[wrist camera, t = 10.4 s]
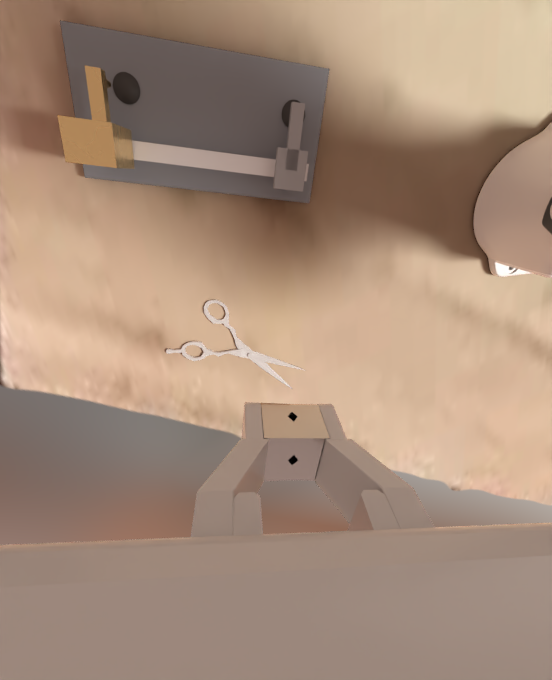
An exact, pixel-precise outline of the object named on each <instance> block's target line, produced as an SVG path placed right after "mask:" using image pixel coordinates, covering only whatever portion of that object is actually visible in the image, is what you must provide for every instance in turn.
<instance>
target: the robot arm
mask: <svg viewBox="0 0 552 680" xmlns="http://www.w3.org/2000/svg"><path fill="white" fill-rule="evenodd" d="M473 223H474V232H475V236H476V239H477V242H478V244H479V245H480V247H481V248H482V249H483V251H484V252H485V253H486V255H487V256H488V260H489V267H490V271H491V273H492V274H493V275H495V276H500V277H504V276H513V275H521V274H530V273H534V274H537V275H541V276H544V277H549V278H552V122H551V123H550V124H549V125H548V126H547V127H546V128H545V129H544V130H543V131H542V132H541V133H539V134H538V135H536V136H534V137H532V138H530V139H529V140H527V141H525V142H523V143H521V144H520V145H518V146H517V147H515V148H514V149H513V150H512V151H510V152H509V153H508V154H507V155H506V156H505V157H504V158H503V159H502V160H501V161H500V162H499V163H498V164H497V165H496V167H495V168H494V169H493V171H492V172H491V173H490V175H489V176H488V178H487V180H486V181H485V183H484V185H483V187H482V189H481V191H480V194H479V196H478V199H477V202H476V206H475V211H474V221H473ZM509 266H510V267H509ZM278 480H315V482H316V483H317V485H318V486H319V487H320V488H321V490H322V491H323V492H324V493H325V495H326V496H327V497H328V498H329V499H330V501H331V502H332V503H333V504H334V505H335V507H336V508H337V509H338V510H339V511H340V513H341V514H342V515H343V516H344V518H345V519H346V520H347V521H348V523H349V524H350V525H349V528H348V530H347V531H336V532H313V533H312V532H310V533H286V534H263V528H262V514H261V500H260V496H259V495H258V494H257V493H258V492H259V490H260V488H261V486H262V484H263V481H278ZM0 680H552V523H532V524H508V525H482V526H457V527H434V525H433V523H432V521H431V520H430V518H429V516H428V514H427V512H426V511H425V509H424V507H423V505H422V503H421V501H420V499H419V498H418V496H417V494H416V492H415V490H414V488H413V487H411V486H410V485H409V484H407V483H406V482H405V481H404V480H402V479H401V478H400V477H399V476H397V475H396V474H395V473H393V472H392V471H391V470H390V469H388V468H387V467H386V466H385V465H383V464H382V463H381V462H380V461H378V460H377V459H376V458H374V457H373V456H372V455H371V454H369V453H368V452H367V451H366V450H364V449H363V448H362V447H360V446H359V445H358V444H357V443H355V442H354V441H353V440H352V439H347V438H346V436H345V433H344V431H343V428H342V426H341V423H340V421H339V418H338V416H337V414H336V411H335V409H334V406H333V405H332V404H317V405H316V404H277V403H247V402H245V405H244V417H243V429H242V439H240V441H239V442H238V443H237V444H236V446H235V447H234V448H233V449H232V450H231V452H230V453H229V454H228V455H227V456H226V458H225V459H224V460H223V461H222V462H221V464H220V465H219V466H218V467H217V468H216V470H215V471H214V472H213V473H212V475H211V476H210V477H209V478H208V480H207V481H206V482H205V483H204V484H203V485H202V487H201V488H200V489H199V490H198V492H197V497H196V504H195V510H194V518H193V525H192V532H191V537H186V538H161V539H136V540H114V541H113V540H112V541H87V542H62V543H39V544H38V543H37V544H13V545H0Z"/></svg>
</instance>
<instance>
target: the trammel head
mask: <svg viewBox="0 0 552 680" xmlns="http://www.w3.org/2000/svg"><path fill="white" fill-rule="evenodd" d="M85 72H86V79H87V86H88V94H89V101H90V108H91V115H92V120H89V119H82V118H75V117H68V116H60V115H57V117H58V122H59V128H60V133H61V139H62V144H63V150H64V155H65V161H66V162H70V163H78V164H87V165H95V166H103V167H111V168H126V169H135V168H134V157H133V146H132V135H131V130H129V129H127V128H124V127H121V126H119V125H116V124H114V123H111V119H110V110H109V102H108V93H107V88H110V87H111V82H110V81H109V80H107V79H106V75H105V71H104V70H102V69H101V68H97V67H91V66H85Z"/></svg>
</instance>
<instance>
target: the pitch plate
mask: <svg viewBox="0 0 552 680" xmlns="http://www.w3.org/2000/svg"><path fill="white" fill-rule="evenodd" d="M60 24H61V30H62V36H63V43H64V49H65V55H66V62H67V68H68V74H69V81H70V87H71V93H72V99H73V106H74V112H75V118H82V119H89V120H92V115H91V108H90V101H89V94H88V86H87V79H86V72H85V66H91V67H97V68H101V69H102V70H104V71H105V75H106V79H107V80H109V81H110V82H111V87H110V88H107V93H108V102H109V110H110V119H111V123H114V124H116V125H119V126H121V127H124V128H127V129H129V130H131V135H132V146H133V157H134V168H135V169H126V168H111V167H103V166H95V165H87V164H83V169H84V175H85V177H86V178H94V179H103V180H112V181H120V182H129V183H138V184H146V185H155V186H164V187H172V188H181V189H189V190H198V191H207V192H215V193H224V194H233V195H241V196H250V197H259V198H267V199H276V200H285V201H293V202H302V203H310V196H311V189H312V182H313V176H314V169H315V162H316V155H317V149H318V142H319V135H320V129H321V122H322V115H323V108H324V102H325V95H326V88H327V81H328V75H329V69H327V68H321V67H316V66H310V65H305V64H299V63H293V62H288V61H282V60H277V59H271V58H266V57H260V56H255V55H249V54H243V53H238V52H232V51H227V50H221V49H216V48H210V47H205V46H199V45H194V44H188V43H182V42H177V41H171V40H166V39H160V38H155V37H149V36H144V35H138V34H132V33H127V32H121V31H116V30H110V29H105V28H99V27H94V26H88V25H83V24H77V23H71V22H66V21H60Z"/></svg>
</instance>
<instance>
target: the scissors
mask: <svg viewBox="0 0 552 680" xmlns="http://www.w3.org/2000/svg"><path fill="white" fill-rule="evenodd" d="M211 303H218V304H220V305H221V306H223V307H224V310H225V313H226V315H225V317H224V318H223V319H215V318H214V317H213V316H211V315H210V314H209V312H208V310H207V308H208V306H209V305H210V304H211ZM204 313H205V315H206V316H207V318H208V319H209V320H210V321H211V322H212V323H221V324H224V326H226V327H227V328H229V329H230V331H231V333H232V335H233V337H234V339H235V343H236V346H237V348H238V349H232V350H226V351H220V352H219V351H212V350H210V349H207V348H206V347H205V346H204V344H203V343H202V342H200V341H190V342H187V343H185V344H184V345H183V347H182V348H181V349H168V348H167V350H166V353H168V354H170V353H182V355H183V356H184V357H186V358H187V359H190V360H193V361H197V360H201V359H203V358H205V357H206V356H208V355H213V354H214V355H217V356H221V355H223V354H228V353H229V354H232V355H236V356H239V357H244V358H249V359H250V360H252V361H253V362H254V363H256V364H257V365H258V366H259V367H261V368H262V369H263V370H265V371H266V372H268V373H269V374H271V375H272V376H274V377H275V378H276V379H278V380H279V381H281V382H282V383H284V384H285V385H287V386H288V387H290V386H289V385H288V384H287V383H286V382H285V381H284V380H283V379H282V378H281V377H280V376H279V375H278V374H277V373H276V372H275V371H274V370H272V369H271V367H270V366H269V365H268V364H267V363H265V362H268V363H272V364H277V365H282V366H286V367H291V368H296V369H301V368H299V367H296V366H294V365H291V364H288V363H286V362H283V361H281V360H278V359H275V358H273V357H270V356H267V355H264V354H261V353H258V352H255V351H252V350H251V349H250V348H249V347H248V346H247V345H245V344H244V343H243V342H242V341H241V340H240V339H239V338H238V337H237V336H236V332H235V329H234V328H233V327H231V326H230V325H229V312H228V309H227V307H226V306H225V304H224V303H222V302H221V301H219V300H209V301H207V302H206V303H205V306H204ZM189 345H196V346H199V347H200V348H202V350H203V354H202V355H201V356H198V357H193V356H190V355H188V354H187V353H186V351H185V348H186V347H187V346H189ZM301 370H304V369H301ZM290 388H291V387H290Z"/></svg>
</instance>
